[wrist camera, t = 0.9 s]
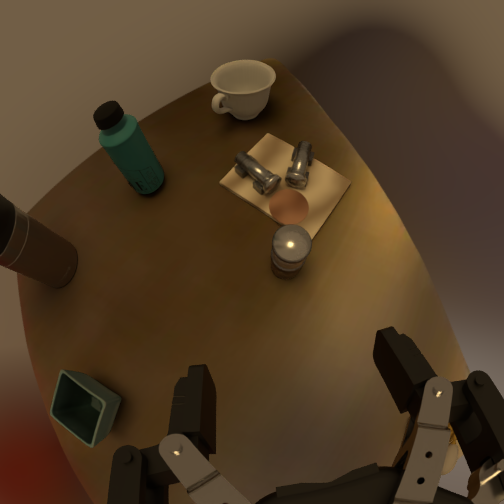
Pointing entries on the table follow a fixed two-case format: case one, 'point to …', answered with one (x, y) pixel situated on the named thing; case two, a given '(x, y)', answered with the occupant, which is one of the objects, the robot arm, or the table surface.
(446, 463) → the perfume bottle
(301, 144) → the shaft
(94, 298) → the table surface
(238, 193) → the base board
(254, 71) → the teacup
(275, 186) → the shaft
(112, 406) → the flower pot
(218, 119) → the table surface
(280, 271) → the disc
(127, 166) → the beverage bottle
